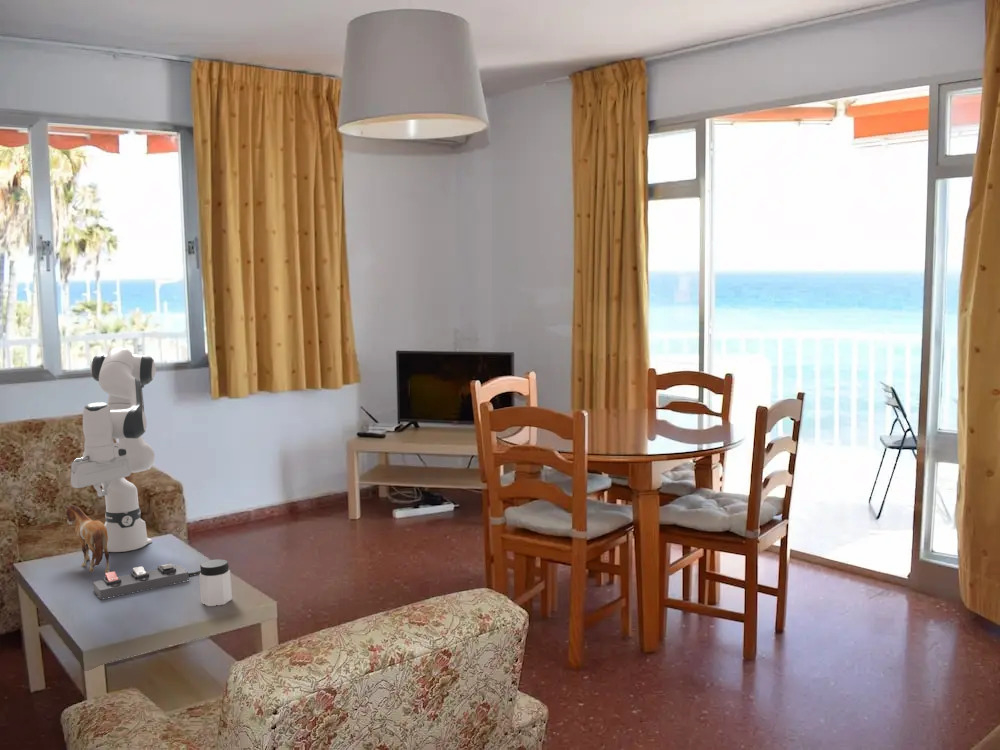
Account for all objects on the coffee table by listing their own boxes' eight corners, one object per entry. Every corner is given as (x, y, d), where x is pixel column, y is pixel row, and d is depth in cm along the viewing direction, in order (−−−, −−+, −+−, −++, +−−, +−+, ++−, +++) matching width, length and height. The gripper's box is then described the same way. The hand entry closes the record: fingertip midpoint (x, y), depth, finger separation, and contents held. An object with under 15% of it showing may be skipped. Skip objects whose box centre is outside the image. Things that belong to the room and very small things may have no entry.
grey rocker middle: (133, 572, 300) (133, 567, 299) (142, 570, 301) (142, 565, 301) (137, 579, 296) (137, 574, 295) (146, 577, 297) (146, 572, 297)
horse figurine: (68, 561, 327) (63, 504, 324) (91, 556, 332) (86, 500, 329) (94, 582, 303) (89, 521, 300) (118, 576, 308) (113, 516, 305)
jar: (236, 601, 281) (234, 562, 280) (212, 608, 275) (209, 569, 274) (221, 594, 287) (218, 557, 286) (197, 601, 281) (194, 563, 280)
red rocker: (105, 577, 295) (105, 572, 294) (114, 575, 296) (114, 570, 296) (109, 585, 291) (109, 581, 290) (118, 583, 293) (118, 579, 292)
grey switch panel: (93, 591, 294) (92, 579, 293) (199, 569, 313) (198, 558, 312) (100, 599, 286) (99, 587, 285) (208, 576, 305) (208, 565, 304)
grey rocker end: (160, 570, 304) (160, 565, 304) (169, 568, 306) (168, 563, 306) (164, 570, 300) (163, 565, 300) (173, 568, 302) (172, 564, 302)
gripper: (77, 460, 286) (80, 504, 288) (132, 448, 304) (135, 489, 305) (64, 458, 289) (68, 502, 291) (120, 447, 307) (123, 488, 308)
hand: (103, 495), depth 298 cm, fingers closed
